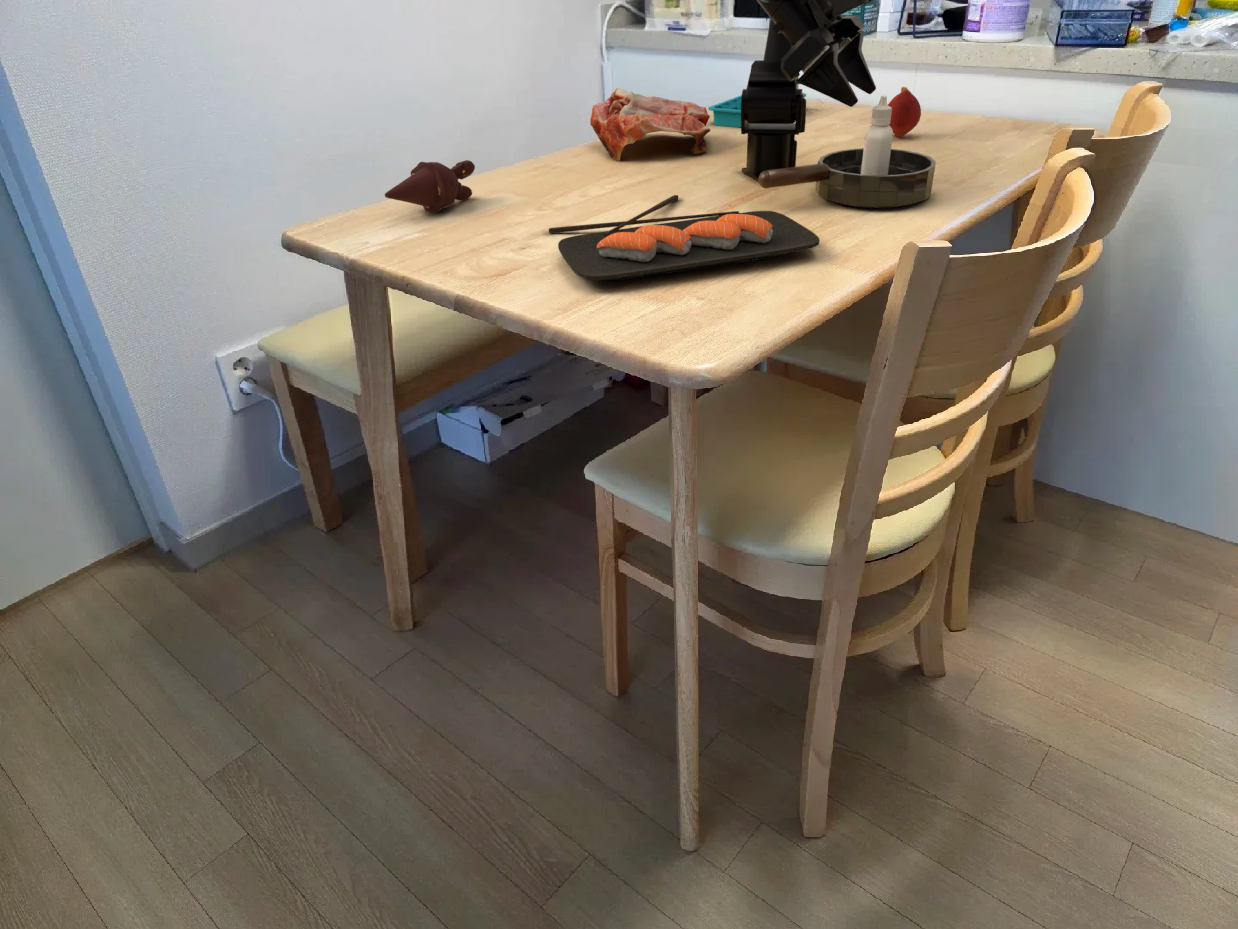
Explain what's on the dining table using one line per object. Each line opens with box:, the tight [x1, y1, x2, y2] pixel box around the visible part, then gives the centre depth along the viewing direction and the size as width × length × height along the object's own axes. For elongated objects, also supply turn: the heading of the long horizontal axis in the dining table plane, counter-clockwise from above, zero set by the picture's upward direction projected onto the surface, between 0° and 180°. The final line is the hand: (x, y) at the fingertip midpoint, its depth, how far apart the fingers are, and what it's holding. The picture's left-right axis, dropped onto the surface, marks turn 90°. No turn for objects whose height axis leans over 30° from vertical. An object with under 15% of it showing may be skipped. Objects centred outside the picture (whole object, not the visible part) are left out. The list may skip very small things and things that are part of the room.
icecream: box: [384, 159, 476, 214], centre depth 115 cm, size 7×7×15 cm
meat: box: [589, 87, 711, 162], centre depth 140 cm, size 21×21×10 cm
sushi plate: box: [548, 194, 821, 281], centre depth 102 cm, size 29×30×4 cm
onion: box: [887, 86, 922, 139], centre depth 139 cm, size 6×6×8 cm
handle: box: [757, 163, 830, 189], centre depth 109 cm, size 10×2×2 cm, turn 107°
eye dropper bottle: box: [861, 95, 894, 175], centre depth 110 cm, size 4×6×12 cm
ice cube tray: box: [708, 92, 807, 128], centre depth 159 cm, size 12×20×3 cm, turn 145°
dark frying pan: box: [815, 147, 937, 209], centre depth 112 cm, size 15×15×4 cm
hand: (864, 97), depth 108 cm, fingers open, 9 cm apart
